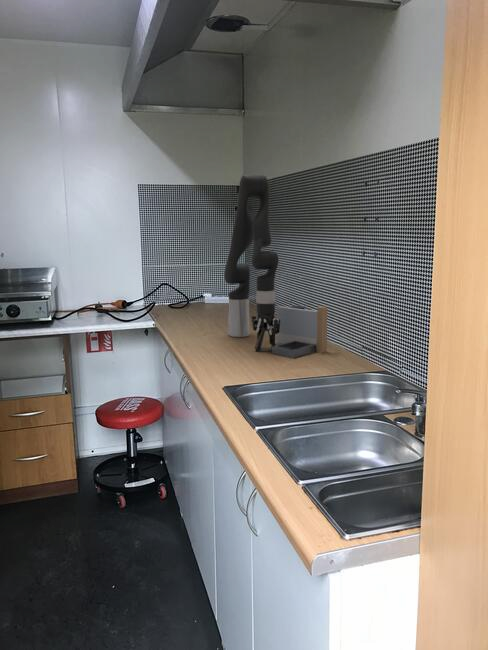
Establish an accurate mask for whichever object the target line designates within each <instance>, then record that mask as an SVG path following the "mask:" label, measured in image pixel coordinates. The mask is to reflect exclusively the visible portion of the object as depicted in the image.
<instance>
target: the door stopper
mask: <svg viewBox="0 0 488 650" xmlns="http://www.w3.org/2000/svg"><path fill="white" fill-rule="evenodd" d="M267 323H268V322H267ZM264 324H265V322H263V323H262V328H261V331H260V335H259V338H258V340H256V343H255V345H254V350H255V352H256V353H261V352H262V353H265V352H268V353H269V352H272V346H276V344H277V343H276V340H275V341H274V340H273V341H274V343H272V344H270V345H271V346H269V347H266V346H265V347H264V346H263V347H262V344H263V340H264V337H265V333H266V332H267V334H268V337H269V336H270V333H269V330H268V329H267V327H265V326H264ZM268 324H269V323H268ZM269 326H270V324H269ZM270 327H271V326H270Z"/></svg>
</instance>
